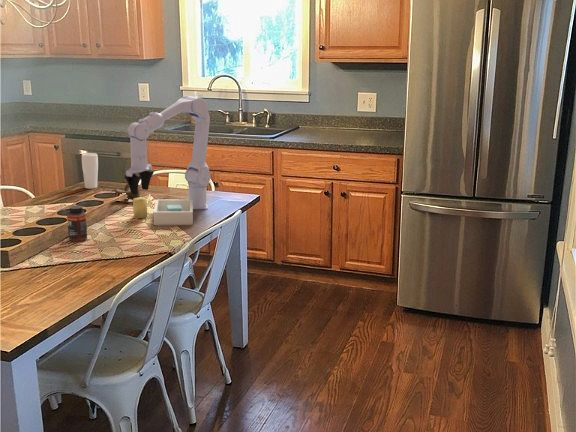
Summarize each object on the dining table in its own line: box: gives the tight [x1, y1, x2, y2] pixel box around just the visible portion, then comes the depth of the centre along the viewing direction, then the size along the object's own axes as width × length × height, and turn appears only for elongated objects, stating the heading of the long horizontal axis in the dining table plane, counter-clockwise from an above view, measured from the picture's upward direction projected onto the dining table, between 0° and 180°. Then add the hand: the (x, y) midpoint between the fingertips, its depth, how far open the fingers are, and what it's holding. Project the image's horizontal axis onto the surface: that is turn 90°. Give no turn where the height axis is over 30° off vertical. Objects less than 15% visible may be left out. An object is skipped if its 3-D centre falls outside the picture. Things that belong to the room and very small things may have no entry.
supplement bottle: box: [66, 205, 88, 243], centre depth 206 cm, size 6×6×11 cm
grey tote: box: [153, 199, 194, 227], centre depth 235 cm, size 18×14×5 cm
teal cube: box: [167, 205, 182, 212], centre depth 231 cm, size 5×5×5 cm
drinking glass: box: [81, 152, 99, 190], centre depth 273 cm, size 7×7×15 cm
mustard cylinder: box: [132, 197, 148, 219], centre depth 234 cm, size 5×5×7 cm
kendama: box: [114, 183, 141, 201], centre depth 259 cm, size 6×10×20 cm
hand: (139, 191), depth 233 cm, fingers open, 7 cm apart
